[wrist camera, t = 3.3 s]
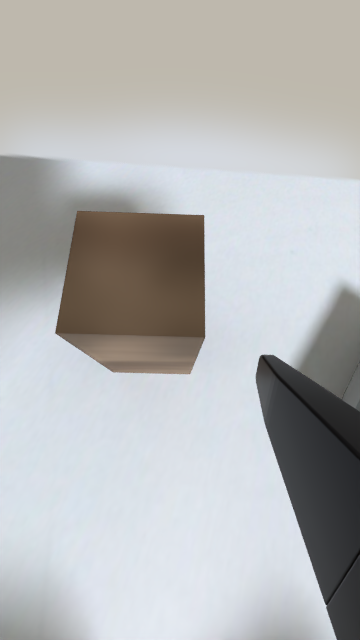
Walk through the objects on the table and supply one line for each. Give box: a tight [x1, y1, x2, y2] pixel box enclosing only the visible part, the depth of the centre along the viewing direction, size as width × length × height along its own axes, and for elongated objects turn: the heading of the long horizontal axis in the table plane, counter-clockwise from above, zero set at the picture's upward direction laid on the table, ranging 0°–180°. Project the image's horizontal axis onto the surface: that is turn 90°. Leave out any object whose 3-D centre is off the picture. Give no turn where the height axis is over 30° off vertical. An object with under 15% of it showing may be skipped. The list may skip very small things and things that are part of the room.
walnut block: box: [55, 211, 205, 374], centre depth 16 cm, size 6×6×10 cm
